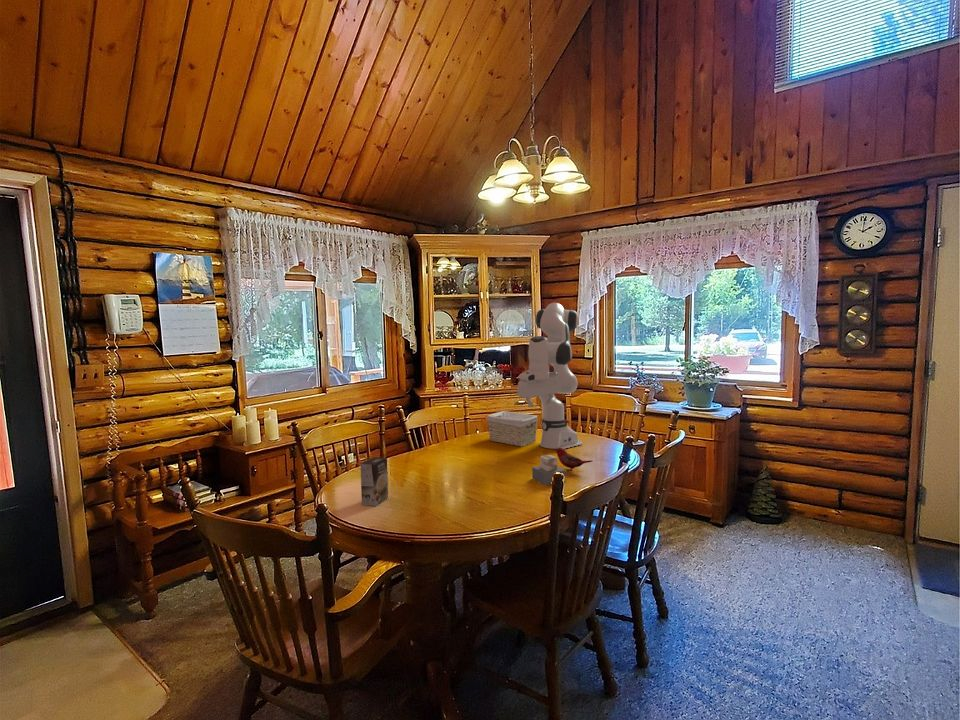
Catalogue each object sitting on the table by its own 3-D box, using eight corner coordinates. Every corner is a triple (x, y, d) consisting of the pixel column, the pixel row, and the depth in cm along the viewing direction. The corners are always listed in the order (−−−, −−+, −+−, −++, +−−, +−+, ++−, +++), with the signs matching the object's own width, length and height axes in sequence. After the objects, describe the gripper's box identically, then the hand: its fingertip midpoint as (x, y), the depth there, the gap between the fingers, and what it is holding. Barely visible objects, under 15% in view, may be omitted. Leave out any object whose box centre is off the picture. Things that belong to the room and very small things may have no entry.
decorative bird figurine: (556, 468, 230) (556, 446, 229) (594, 473, 221) (594, 451, 220) (553, 469, 228) (553, 448, 227) (592, 475, 219) (592, 453, 218)
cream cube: (550, 466, 217) (550, 454, 217) (557, 469, 213) (556, 457, 212) (540, 467, 215) (540, 456, 214) (546, 471, 210) (546, 459, 210)
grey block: (552, 475, 221) (552, 463, 220) (565, 481, 212) (565, 470, 211) (532, 478, 217) (532, 467, 216) (545, 485, 208) (544, 473, 207)
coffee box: (375, 506, 189) (374, 464, 187) (361, 504, 191) (359, 463, 190) (389, 498, 197) (387, 457, 196) (374, 496, 200) (373, 456, 198)
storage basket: (539, 441, 277) (539, 415, 275) (522, 448, 264) (522, 420, 263) (503, 435, 292) (503, 410, 290) (486, 441, 279) (485, 415, 278)
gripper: (555, 370, 228) (555, 400, 230) (515, 375, 219) (516, 406, 221) (563, 372, 222) (563, 403, 224) (522, 377, 214) (523, 409, 216)
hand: (539, 405), depth 223 cm, fingers open, 8 cm apart
